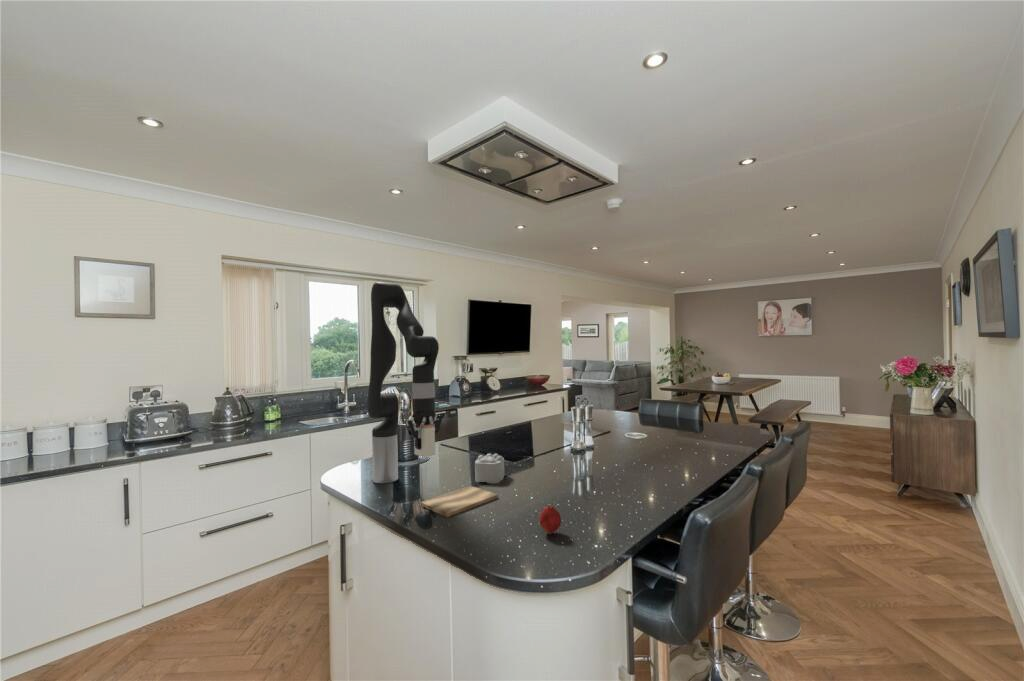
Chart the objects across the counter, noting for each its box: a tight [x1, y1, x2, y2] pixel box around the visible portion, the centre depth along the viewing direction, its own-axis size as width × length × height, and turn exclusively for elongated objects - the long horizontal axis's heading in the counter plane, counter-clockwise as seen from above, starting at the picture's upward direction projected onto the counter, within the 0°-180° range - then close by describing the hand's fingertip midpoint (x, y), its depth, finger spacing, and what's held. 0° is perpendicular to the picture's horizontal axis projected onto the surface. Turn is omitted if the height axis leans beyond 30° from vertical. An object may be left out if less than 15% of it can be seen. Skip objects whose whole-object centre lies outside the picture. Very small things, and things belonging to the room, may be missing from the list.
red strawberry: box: [538, 503, 562, 535], centre depth 116 cm, size 6×6×8 cm
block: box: [413, 423, 436, 458], centre depth 144 cm, size 6×4×10 cm, turn 46°
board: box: [419, 485, 499, 518], centre depth 141 cm, size 14×21×1 cm, turn 137°
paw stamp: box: [474, 452, 505, 484], centre depth 166 cm, size 10×13×9 cm
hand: (424, 447), depth 144 cm, fingers closed on block, 4 cm apart
